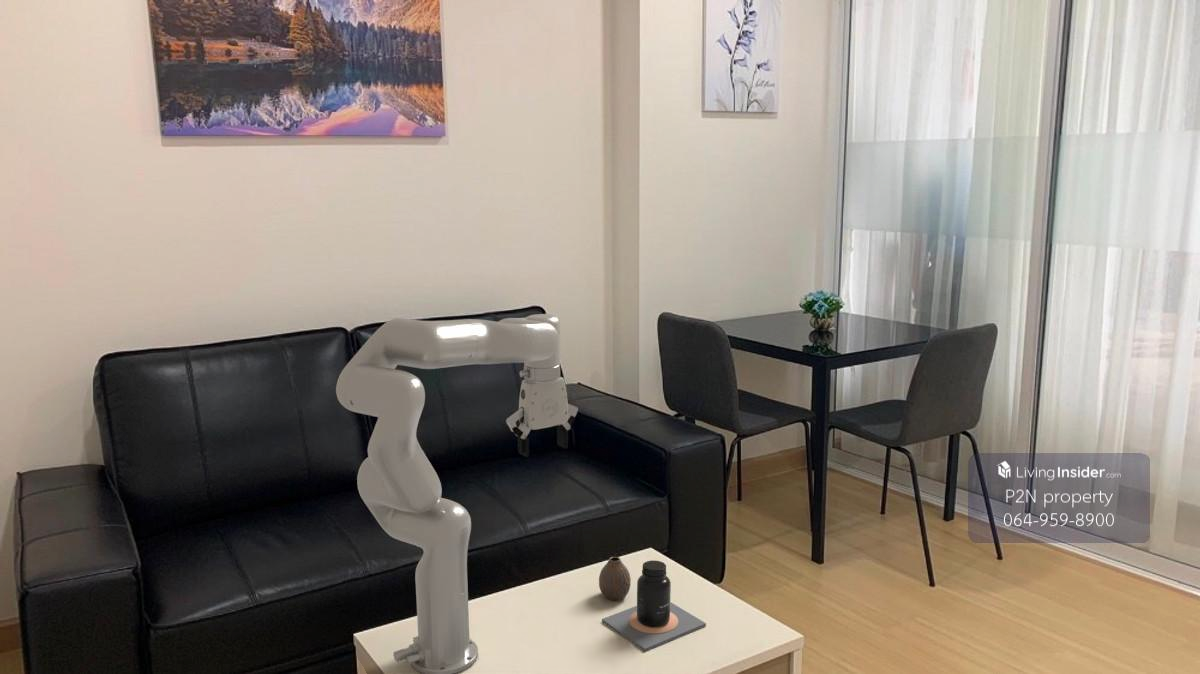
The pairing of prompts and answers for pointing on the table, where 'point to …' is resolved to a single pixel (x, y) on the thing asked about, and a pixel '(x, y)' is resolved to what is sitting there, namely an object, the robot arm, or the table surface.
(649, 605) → the supplement bottle
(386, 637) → the table surface
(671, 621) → the mat
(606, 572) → the vase
